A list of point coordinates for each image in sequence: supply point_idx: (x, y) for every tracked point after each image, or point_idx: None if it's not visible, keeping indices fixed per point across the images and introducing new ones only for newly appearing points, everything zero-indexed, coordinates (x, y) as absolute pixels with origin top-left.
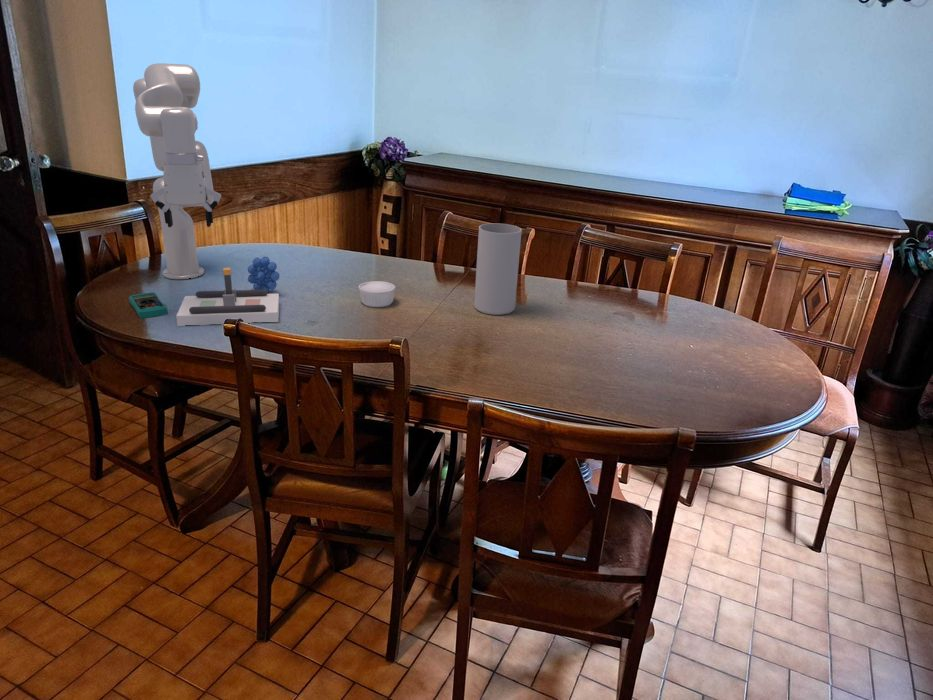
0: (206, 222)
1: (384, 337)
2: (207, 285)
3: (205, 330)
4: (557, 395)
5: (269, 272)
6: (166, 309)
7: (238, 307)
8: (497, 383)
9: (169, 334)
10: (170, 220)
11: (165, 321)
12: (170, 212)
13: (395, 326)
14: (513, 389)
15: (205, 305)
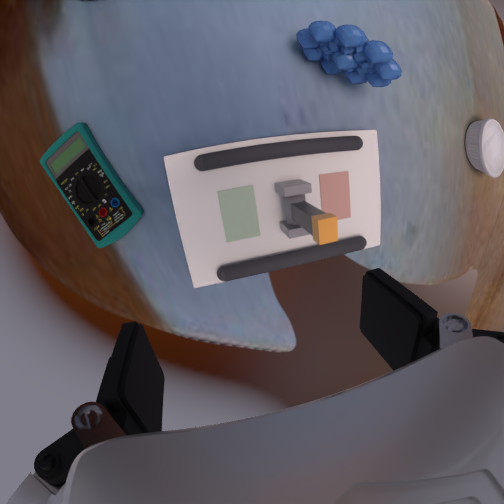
0: (371, 343)
1: (462, 272)
2: (176, 14)
3: (252, 288)
4: None
5: (373, 73)
6: (141, 215)
7: (320, 259)
8: None
9: (195, 312)
10: (160, 399)
11: (158, 255)
12: (141, 413)
13: (477, 238)
14: None
15: (237, 224)
